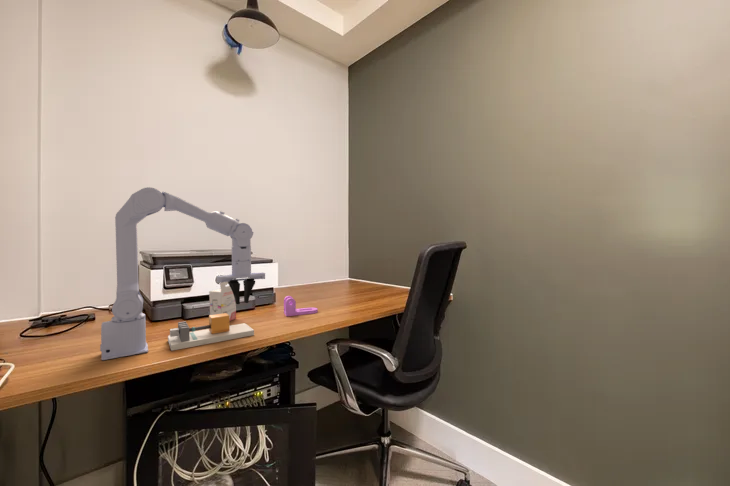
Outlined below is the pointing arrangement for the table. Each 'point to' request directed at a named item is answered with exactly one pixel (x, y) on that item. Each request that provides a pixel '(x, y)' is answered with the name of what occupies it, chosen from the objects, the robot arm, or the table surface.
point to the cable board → (204, 335)
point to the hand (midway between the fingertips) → (241, 303)
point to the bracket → (291, 308)
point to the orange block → (219, 323)
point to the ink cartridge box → (223, 301)
